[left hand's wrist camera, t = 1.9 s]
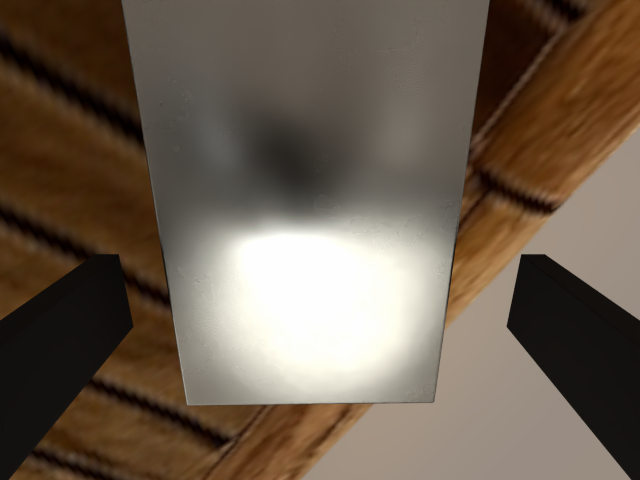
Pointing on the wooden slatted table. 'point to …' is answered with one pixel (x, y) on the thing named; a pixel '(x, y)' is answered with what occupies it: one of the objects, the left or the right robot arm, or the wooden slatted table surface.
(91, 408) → the wooden slatted table surface
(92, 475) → the wooden slatted table surface
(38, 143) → the wooden slatted table surface
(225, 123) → the box
